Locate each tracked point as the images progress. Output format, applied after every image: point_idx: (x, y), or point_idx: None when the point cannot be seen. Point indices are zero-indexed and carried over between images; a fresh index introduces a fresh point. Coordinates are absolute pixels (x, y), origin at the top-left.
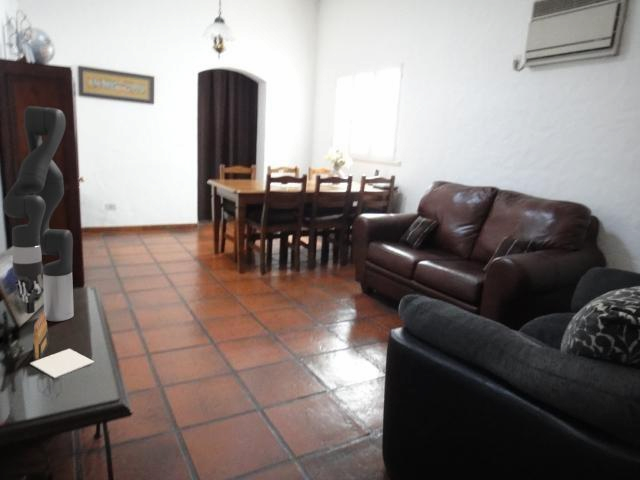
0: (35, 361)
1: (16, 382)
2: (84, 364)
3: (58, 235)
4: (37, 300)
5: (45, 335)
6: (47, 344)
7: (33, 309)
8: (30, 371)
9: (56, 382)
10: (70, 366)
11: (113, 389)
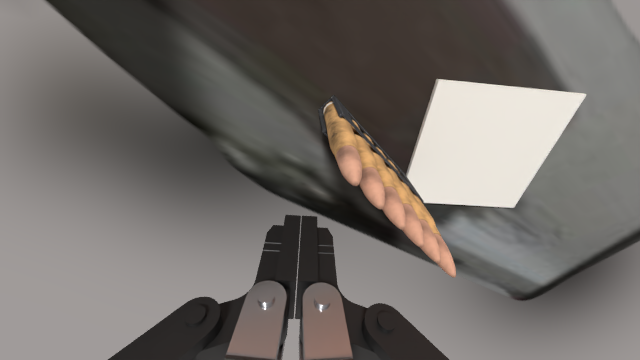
0: None
1: None
2: (560, 127)
3: None
4: (388, 311)
5: (374, 147)
6: (348, 112)
7: (331, 244)
8: None
9: (525, 211)
10: (522, 157)
11: None
